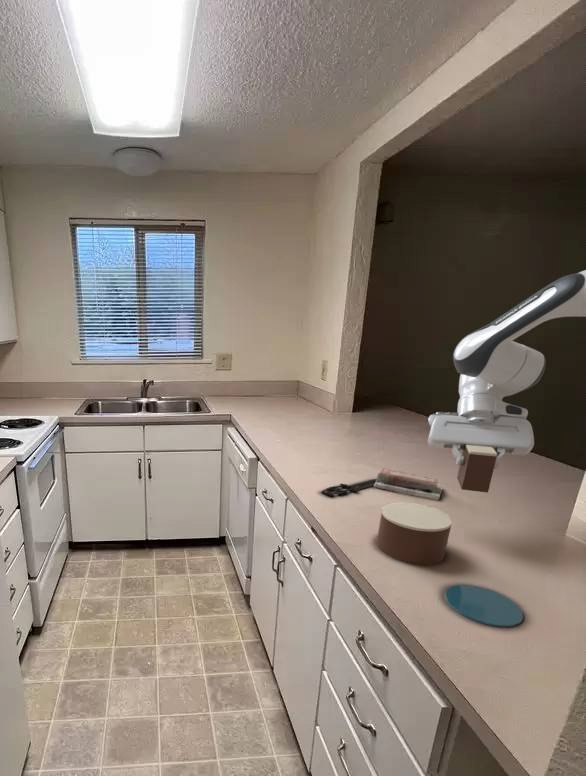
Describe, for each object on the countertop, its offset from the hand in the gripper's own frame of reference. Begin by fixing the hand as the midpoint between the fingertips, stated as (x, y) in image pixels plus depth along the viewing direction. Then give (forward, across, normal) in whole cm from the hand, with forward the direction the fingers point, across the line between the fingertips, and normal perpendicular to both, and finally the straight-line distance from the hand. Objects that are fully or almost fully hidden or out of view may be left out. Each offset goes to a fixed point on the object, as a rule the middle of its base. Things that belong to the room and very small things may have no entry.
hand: (477, 465), depth 98 cm
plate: (+33, 0, -6) cm, 34 cm away
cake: (+20, -11, +6) cm, 24 cm away
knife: (-4, -26, +31) cm, 41 cm away
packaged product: (-8, -11, +35) cm, 37 cm away
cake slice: (+3, 0, +4) cm, 5 cm away
